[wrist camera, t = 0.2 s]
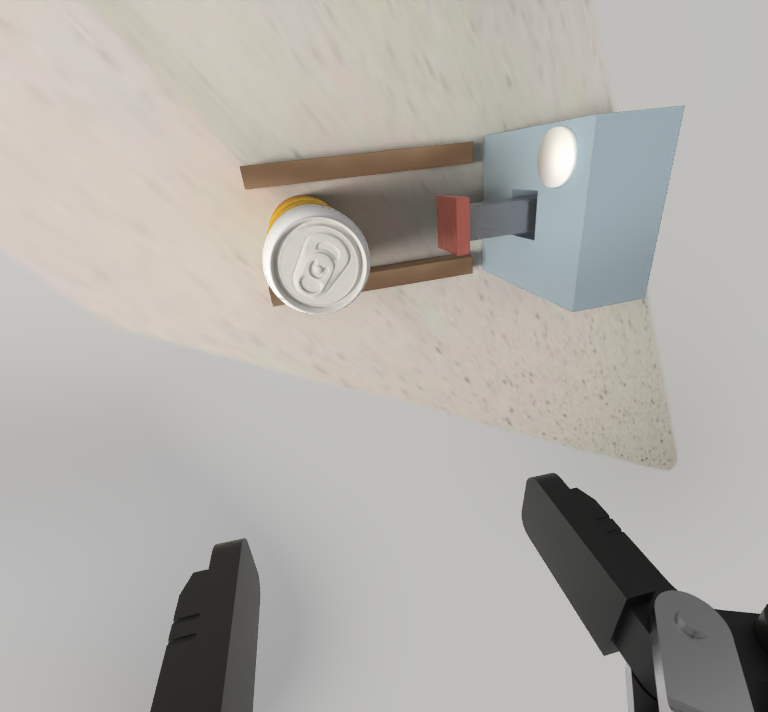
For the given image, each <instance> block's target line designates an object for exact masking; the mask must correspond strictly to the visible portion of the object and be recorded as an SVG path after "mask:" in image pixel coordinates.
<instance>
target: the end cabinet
mask: <svg viewBox="0 0 768 712" xmlns="http://www.w3.org/2000/svg"><path fill="white" fill-rule="evenodd" d="M684 107H685V106H675V107H665V108H655V109H645V110H635V111H625V112H615V113H605V114H596V115H591V116H585V117H580V118H575V119H570V120H565V121H559V122H554V123H549V124H544V125H539V126H533V127H528V128H523V129H518V130H513V131H507V132H502V133H497V134H492V135H487V136H484V159H483V202H484V201H492V200H499V199H506V198H514V197H521V196H529V195H536V194H538V197H537V211H536V225H535V231H531V232H525V233H518V234H511V235H505V236H498V237H492V238H485V239H482V270H484V271H486V272H488V273H490V274H492V275H495V276H497V277H499V278H501V279H503V280H505V281H507V282H509V283H512V284H514V285H516V286H518V287H520V288H522V289H524V290H526V291H529V292H531V293H533V294H535V295H537V296H539V297H541V298H543V299H545V300H548V301H550V302H552V303H554V304H556V305H558V306H560V307H562V308H565V309H567V310H569V311H571V312H576V311H581V310H586V309H591V308H596V307H602V306H607V305H612V304H617V303H622V302H627V301H632V300H638V299H643V298H645V295H646V290H647V285H648V280H649V276H650V271H651V266H652V261H653V256H654V252H655V247H656V242H657V237H658V232H659V227H660V222H661V218H662V212H663V208H664V203H665V198H666V194H667V189H668V184H669V179H670V174H671V169H672V164H673V160H674V155H675V150H676V145H677V140H678V136H679V131H680V126H681V121H682V116H683V111H684Z"/></svg>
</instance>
